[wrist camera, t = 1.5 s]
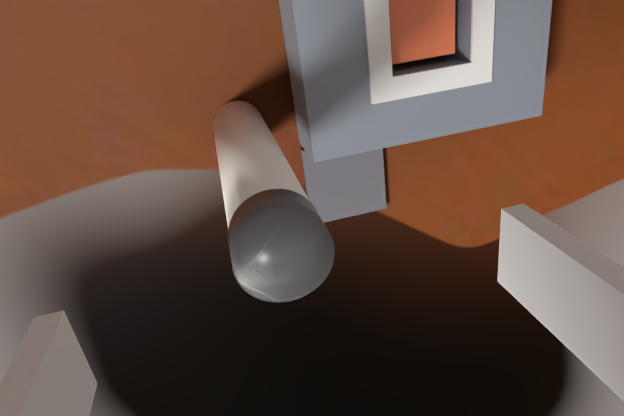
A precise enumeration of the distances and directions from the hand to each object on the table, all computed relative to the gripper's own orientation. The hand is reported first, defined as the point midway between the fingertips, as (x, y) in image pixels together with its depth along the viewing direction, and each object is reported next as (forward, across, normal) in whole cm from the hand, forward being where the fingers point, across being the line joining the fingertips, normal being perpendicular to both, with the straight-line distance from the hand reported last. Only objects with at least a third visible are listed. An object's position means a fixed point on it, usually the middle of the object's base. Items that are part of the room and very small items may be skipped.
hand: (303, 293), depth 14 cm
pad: (+20, +7, -5) cm, 22 cm away
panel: (+20, +12, +5) cm, 24 cm away
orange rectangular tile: (+18, +12, +5) cm, 22 cm away
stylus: (+20, 0, 0) cm, 20 cm away
